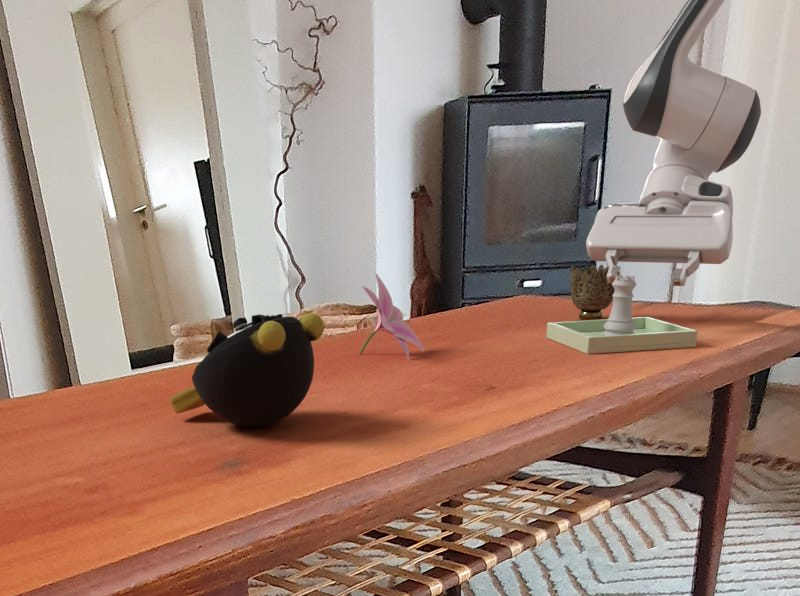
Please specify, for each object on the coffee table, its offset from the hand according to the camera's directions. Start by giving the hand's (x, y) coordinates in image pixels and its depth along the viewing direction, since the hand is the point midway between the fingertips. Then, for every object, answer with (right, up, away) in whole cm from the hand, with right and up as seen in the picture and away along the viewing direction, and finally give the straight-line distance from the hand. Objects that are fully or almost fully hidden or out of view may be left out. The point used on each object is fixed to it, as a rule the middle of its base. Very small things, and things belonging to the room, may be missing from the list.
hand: (644, 282), depth 139 cm
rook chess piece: (-5, -10, -4) cm, 12 cm away
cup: (-4, -1, +14) cm, 14 cm away
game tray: (-5, -10, -4) cm, 12 cm away
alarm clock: (-54, -30, -40) cm, 74 cm away
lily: (-37, -13, -8) cm, 40 cm away
